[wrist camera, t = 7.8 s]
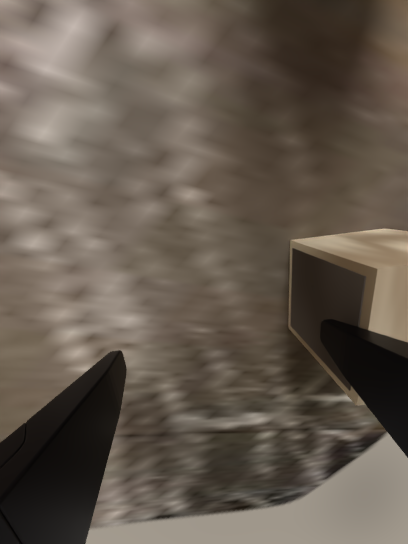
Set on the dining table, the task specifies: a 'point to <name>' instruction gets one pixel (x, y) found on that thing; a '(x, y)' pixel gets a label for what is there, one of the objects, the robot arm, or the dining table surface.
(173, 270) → the dining table surface
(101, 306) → the dining table surface
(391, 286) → the maple block
